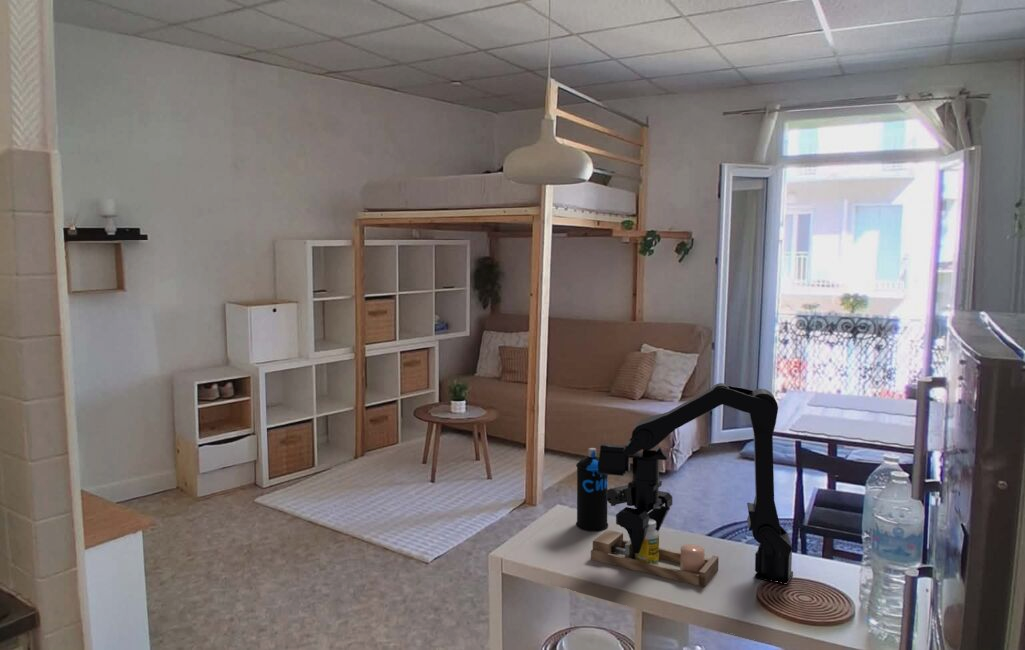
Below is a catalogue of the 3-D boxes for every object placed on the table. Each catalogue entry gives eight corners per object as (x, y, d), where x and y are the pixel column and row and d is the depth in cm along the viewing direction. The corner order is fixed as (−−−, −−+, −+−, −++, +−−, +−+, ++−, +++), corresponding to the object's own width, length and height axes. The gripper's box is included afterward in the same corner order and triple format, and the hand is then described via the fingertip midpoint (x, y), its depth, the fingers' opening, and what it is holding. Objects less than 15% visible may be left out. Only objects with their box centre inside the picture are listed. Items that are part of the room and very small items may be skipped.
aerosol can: (571, 521, 180) (571, 446, 179) (600, 518, 183) (600, 443, 181) (583, 533, 172) (583, 454, 171) (613, 529, 175) (614, 451, 173)
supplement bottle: (643, 555, 159) (644, 515, 158) (663, 563, 155) (664, 521, 154) (629, 562, 155) (629, 521, 154) (649, 570, 151) (650, 527, 150)
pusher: (641, 553, 159) (641, 534, 159) (629, 565, 153) (629, 545, 153) (613, 547, 163) (613, 528, 163) (600, 558, 157) (600, 538, 157)
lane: (718, 569, 151) (718, 552, 151) (704, 587, 143) (704, 568, 143) (608, 544, 165) (609, 528, 165) (590, 559, 157) (590, 541, 157)
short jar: (707, 572, 150) (707, 547, 150) (700, 580, 146) (700, 555, 145) (684, 567, 153) (684, 542, 152) (677, 575, 148) (677, 550, 148)
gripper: (628, 462, 166) (628, 525, 167) (593, 482, 150) (593, 552, 151) (673, 469, 160) (672, 535, 161) (642, 490, 144) (641, 563, 145)
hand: (644, 545), depth 155 cm, fingers open, 9 cm apart
